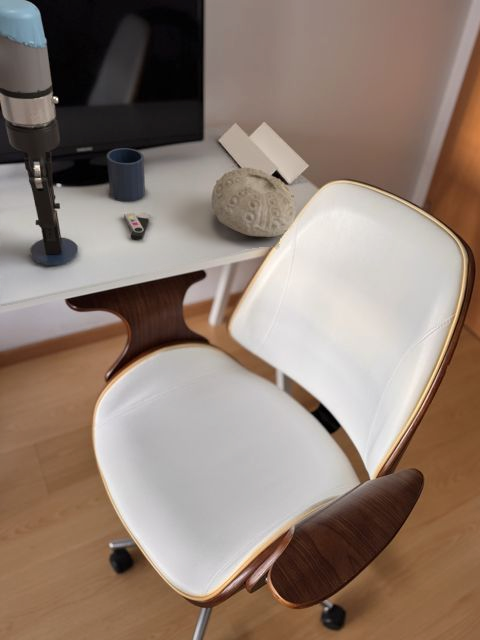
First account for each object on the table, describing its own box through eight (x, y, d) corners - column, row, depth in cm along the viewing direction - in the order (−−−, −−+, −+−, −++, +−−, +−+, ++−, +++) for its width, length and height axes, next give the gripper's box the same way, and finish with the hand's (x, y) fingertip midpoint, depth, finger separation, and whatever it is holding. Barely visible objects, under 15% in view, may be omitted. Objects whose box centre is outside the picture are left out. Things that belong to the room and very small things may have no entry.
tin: (111, 202, 116) (108, 164, 110) (109, 185, 121) (105, 148, 115) (146, 201, 118) (145, 163, 112) (142, 184, 123) (141, 147, 117)
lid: (30, 269, 97) (20, 224, 90) (32, 243, 102) (22, 199, 96) (79, 266, 99) (72, 222, 93) (77, 241, 104) (71, 197, 98)
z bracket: (271, 201, 132) (257, 186, 127) (232, 155, 148) (218, 140, 143) (308, 165, 130) (296, 148, 125) (264, 122, 145) (251, 106, 140)
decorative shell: (261, 190, 124) (273, 151, 117) (304, 241, 117) (320, 203, 109) (193, 201, 115) (201, 160, 108) (235, 257, 108) (247, 217, 100)
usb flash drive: (142, 240, 107) (142, 236, 106) (115, 236, 107) (115, 232, 106) (150, 217, 113) (150, 213, 112) (125, 214, 113) (125, 210, 112)
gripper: (57, 140, 79) (76, 272, 95) (56, 99, 90) (74, 224, 106) (1, 140, 77) (30, 274, 93) (7, 98, 88) (33, 225, 104)
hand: (54, 247), depth 100 cm, fingers closed on lid, 3 cm apart
